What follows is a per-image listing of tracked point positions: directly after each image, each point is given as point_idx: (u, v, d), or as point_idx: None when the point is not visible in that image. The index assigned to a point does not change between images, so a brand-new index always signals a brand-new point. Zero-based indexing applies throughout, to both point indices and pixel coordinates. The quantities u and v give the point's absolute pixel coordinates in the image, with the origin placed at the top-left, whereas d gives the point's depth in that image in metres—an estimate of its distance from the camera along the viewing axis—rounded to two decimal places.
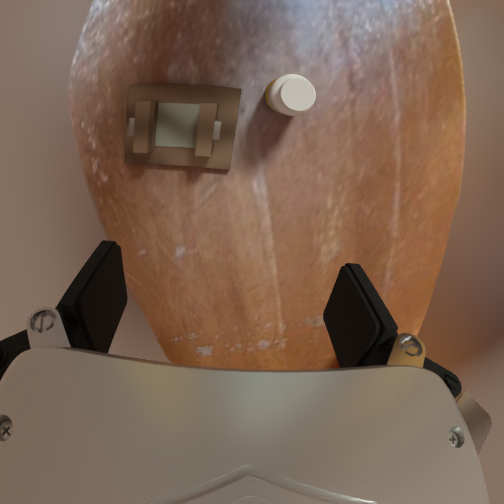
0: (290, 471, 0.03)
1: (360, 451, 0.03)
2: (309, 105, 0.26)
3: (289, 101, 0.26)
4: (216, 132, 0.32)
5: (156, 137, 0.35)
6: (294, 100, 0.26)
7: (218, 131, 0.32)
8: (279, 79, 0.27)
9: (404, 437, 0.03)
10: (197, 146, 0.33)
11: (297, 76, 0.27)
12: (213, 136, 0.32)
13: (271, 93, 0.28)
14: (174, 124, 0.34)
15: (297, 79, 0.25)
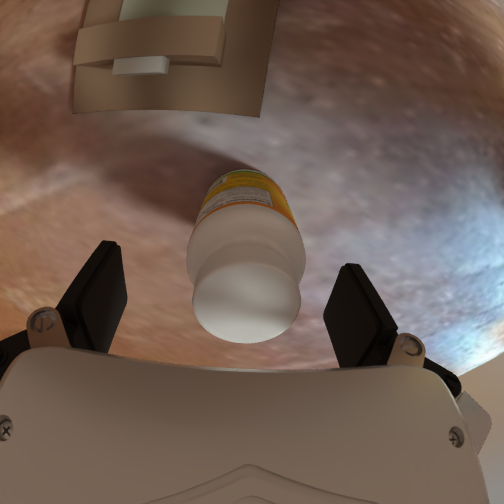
0: (290, 471, 0.03)
1: (360, 451, 0.03)
2: (216, 332, 0.10)
3: (219, 288, 0.09)
4: (131, 65, 0.09)
5: None
6: (225, 300, 0.10)
7: (134, 69, 0.09)
8: (291, 233, 0.11)
9: (404, 437, 0.03)
10: (99, 28, 0.08)
11: (299, 277, 0.12)
12: (121, 59, 0.09)
13: (246, 211, 0.11)
14: None
15: (295, 304, 0.10)
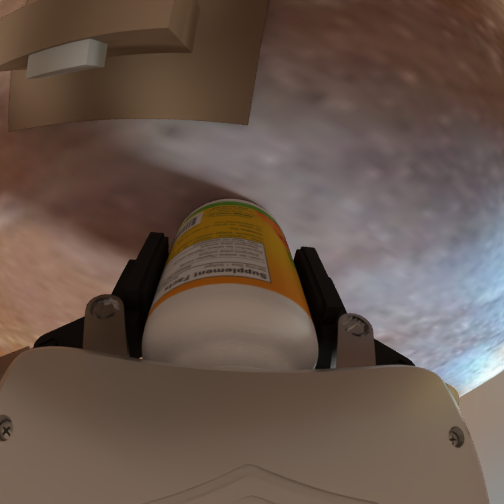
0: (290, 471, 0.03)
1: (360, 451, 0.03)
2: None
3: None
4: (48, 59, 0.04)
5: None
6: None
7: (51, 66, 0.05)
8: (299, 330, 0.07)
9: (404, 437, 0.03)
10: (14, 15, 0.03)
11: None
12: (36, 54, 0.04)
13: (224, 301, 0.06)
14: None
15: None
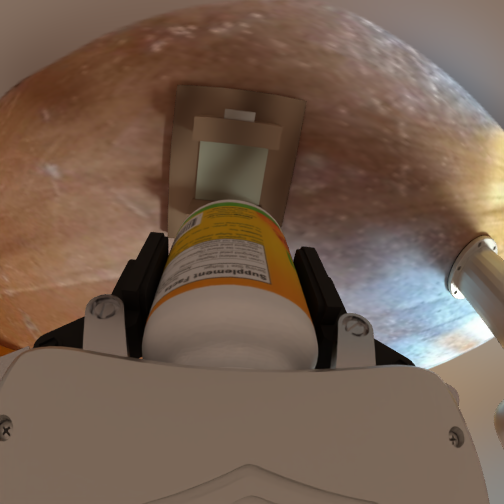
0: (290, 471, 0.03)
1: (360, 451, 0.03)
2: None
3: None
4: None
5: None
6: None
7: None
8: (299, 331, 0.07)
9: (404, 437, 0.03)
10: None
11: None
12: None
13: (224, 302, 0.06)
14: (232, 165, 0.25)
15: None
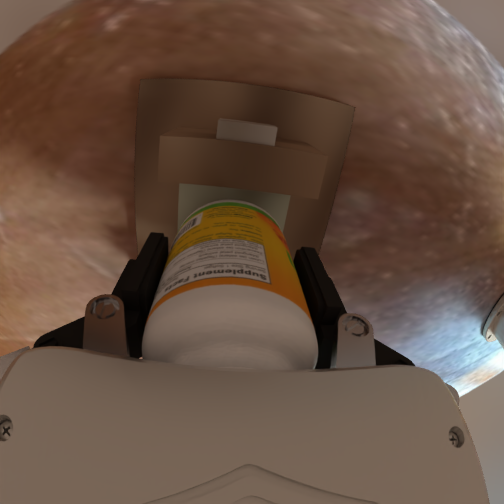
0: (290, 471, 0.03)
1: (360, 451, 0.03)
2: None
3: None
4: None
5: None
6: None
7: None
8: (299, 331, 0.07)
9: (404, 437, 0.03)
10: None
11: None
12: None
13: (224, 302, 0.06)
14: None
15: None
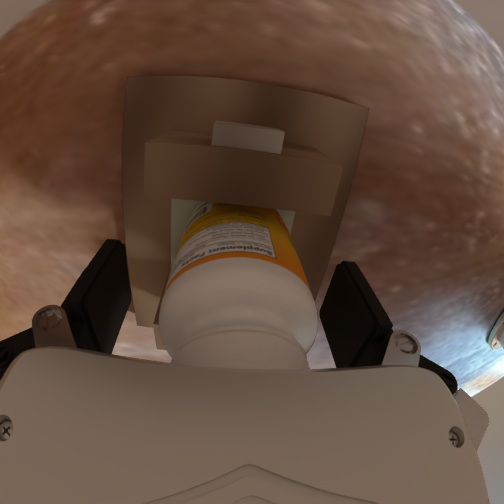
0: (290, 471, 0.03)
1: (360, 451, 0.03)
2: None
3: None
4: None
5: None
6: None
7: None
8: (301, 299, 0.08)
9: (404, 437, 0.03)
10: None
11: (309, 347, 0.09)
12: None
13: (237, 271, 0.07)
14: None
15: None
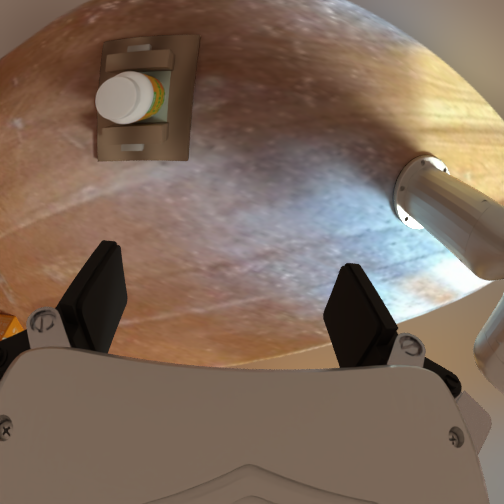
0: (290, 471, 0.03)
1: (360, 451, 0.03)
2: (103, 114, 0.19)
3: (105, 89, 0.18)
4: (129, 147, 0.26)
5: None
6: (106, 95, 0.18)
7: (130, 149, 0.26)
8: (141, 76, 0.19)
9: (404, 437, 0.03)
10: (112, 129, 0.24)
11: (147, 96, 0.20)
12: (124, 144, 0.26)
13: (124, 72, 0.19)
14: None
15: (133, 92, 0.18)
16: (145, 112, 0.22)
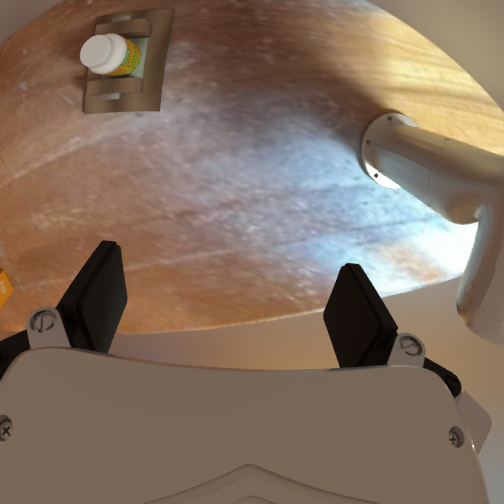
0: (290, 471, 0.03)
1: (360, 451, 0.03)
2: (84, 63, 0.20)
3: (87, 44, 0.19)
4: (107, 96, 0.27)
5: None
6: (88, 48, 0.19)
7: (108, 98, 0.27)
8: (118, 36, 0.20)
9: (404, 437, 0.03)
10: (95, 82, 0.26)
11: (121, 50, 0.21)
12: (103, 94, 0.27)
13: (105, 34, 0.20)
14: None
15: (108, 45, 0.19)
16: (119, 63, 0.23)
